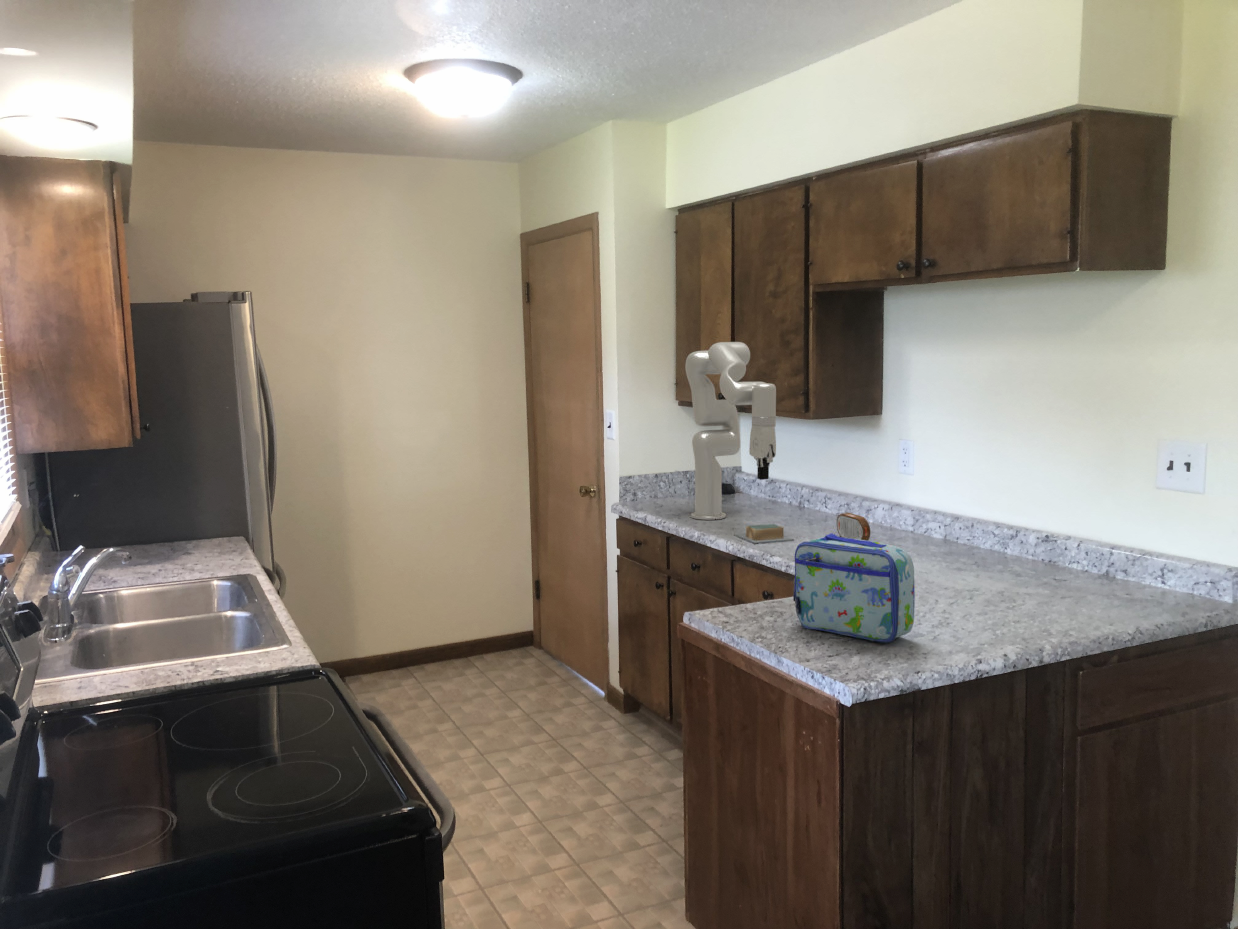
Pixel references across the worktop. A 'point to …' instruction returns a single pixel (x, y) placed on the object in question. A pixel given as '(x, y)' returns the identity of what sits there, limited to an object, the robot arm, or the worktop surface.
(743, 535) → the mat
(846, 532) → the tin
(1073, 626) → the worktop surface
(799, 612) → the lunch box
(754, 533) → the block
